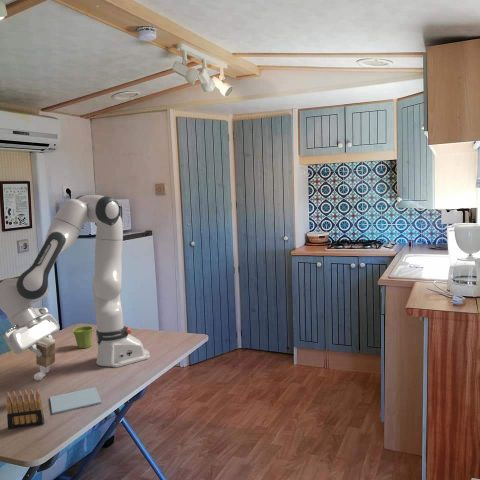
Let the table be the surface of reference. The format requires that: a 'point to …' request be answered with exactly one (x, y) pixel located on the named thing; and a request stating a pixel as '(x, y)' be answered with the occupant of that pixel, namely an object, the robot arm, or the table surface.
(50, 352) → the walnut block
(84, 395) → the blue-grey mat
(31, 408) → the ammunition clip
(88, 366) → the table surface
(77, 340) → the plant pot
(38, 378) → the game pieces
